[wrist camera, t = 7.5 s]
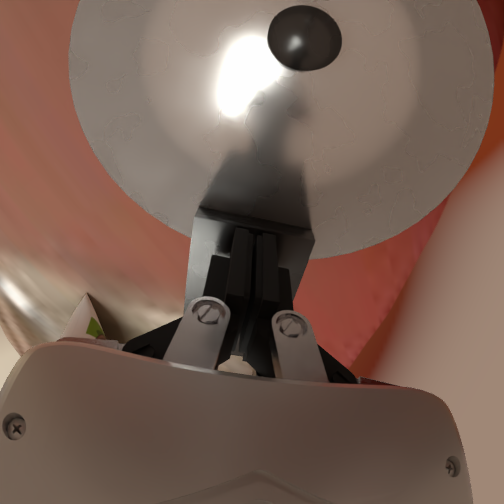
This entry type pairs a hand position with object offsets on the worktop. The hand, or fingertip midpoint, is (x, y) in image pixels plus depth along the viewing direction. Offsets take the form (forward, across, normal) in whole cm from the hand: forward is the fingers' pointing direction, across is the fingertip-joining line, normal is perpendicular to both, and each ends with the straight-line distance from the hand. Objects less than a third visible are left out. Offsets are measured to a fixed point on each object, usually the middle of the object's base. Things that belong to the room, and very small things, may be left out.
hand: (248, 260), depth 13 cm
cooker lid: (+2, 0, -6) cm, 7 cm away
